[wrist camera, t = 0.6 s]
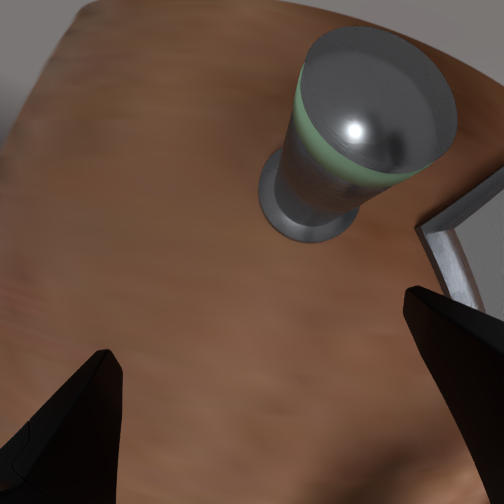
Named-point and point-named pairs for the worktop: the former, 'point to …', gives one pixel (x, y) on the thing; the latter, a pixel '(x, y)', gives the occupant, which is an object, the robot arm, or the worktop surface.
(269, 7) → the worktop surface
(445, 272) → the metal stand
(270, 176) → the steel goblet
